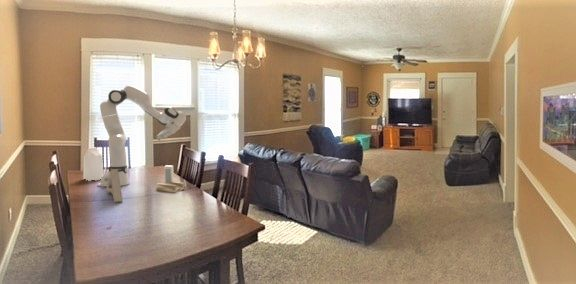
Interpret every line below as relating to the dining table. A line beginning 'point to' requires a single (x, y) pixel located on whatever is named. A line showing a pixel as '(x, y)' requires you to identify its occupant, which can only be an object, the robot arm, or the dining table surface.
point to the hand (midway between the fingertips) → (161, 138)
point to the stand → (170, 186)
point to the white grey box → (169, 173)
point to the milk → (93, 165)
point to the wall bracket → (114, 186)
